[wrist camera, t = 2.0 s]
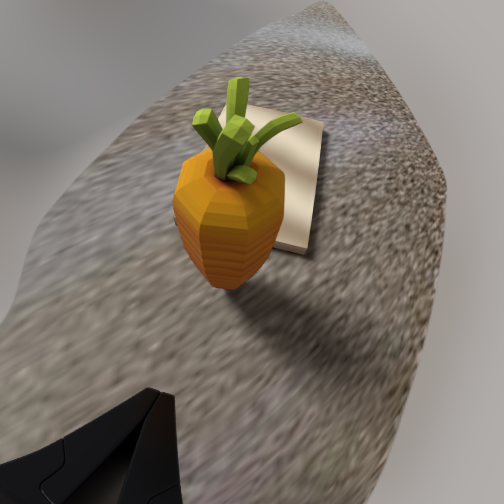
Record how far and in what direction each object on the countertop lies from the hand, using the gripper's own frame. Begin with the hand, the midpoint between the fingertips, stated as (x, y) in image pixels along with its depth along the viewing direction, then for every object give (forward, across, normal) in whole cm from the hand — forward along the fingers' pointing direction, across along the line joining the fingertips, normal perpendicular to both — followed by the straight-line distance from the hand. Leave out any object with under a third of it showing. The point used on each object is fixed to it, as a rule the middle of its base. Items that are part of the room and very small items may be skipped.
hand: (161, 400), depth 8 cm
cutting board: (+22, 0, -6) cm, 23 cm away
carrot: (+14, 0, +2) cm, 14 cm away
